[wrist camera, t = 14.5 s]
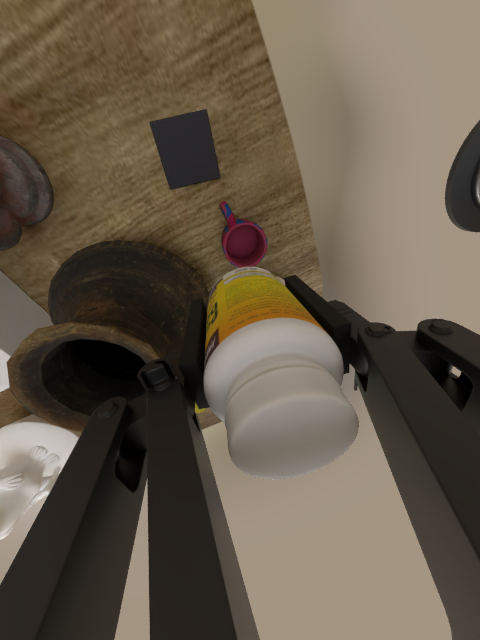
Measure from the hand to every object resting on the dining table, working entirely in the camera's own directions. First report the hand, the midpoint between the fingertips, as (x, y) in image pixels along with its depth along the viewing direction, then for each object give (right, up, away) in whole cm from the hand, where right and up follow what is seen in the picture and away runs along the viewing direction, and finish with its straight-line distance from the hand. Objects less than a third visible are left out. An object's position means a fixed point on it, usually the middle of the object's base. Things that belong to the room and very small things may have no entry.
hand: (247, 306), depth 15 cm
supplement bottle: (0, 0, +1) cm, 1 cm away
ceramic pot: (-18, +3, +27) cm, 33 cm away
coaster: (-8, +24, +17) cm, 30 cm away
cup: (-1, +15, +23) cm, 27 cm away
